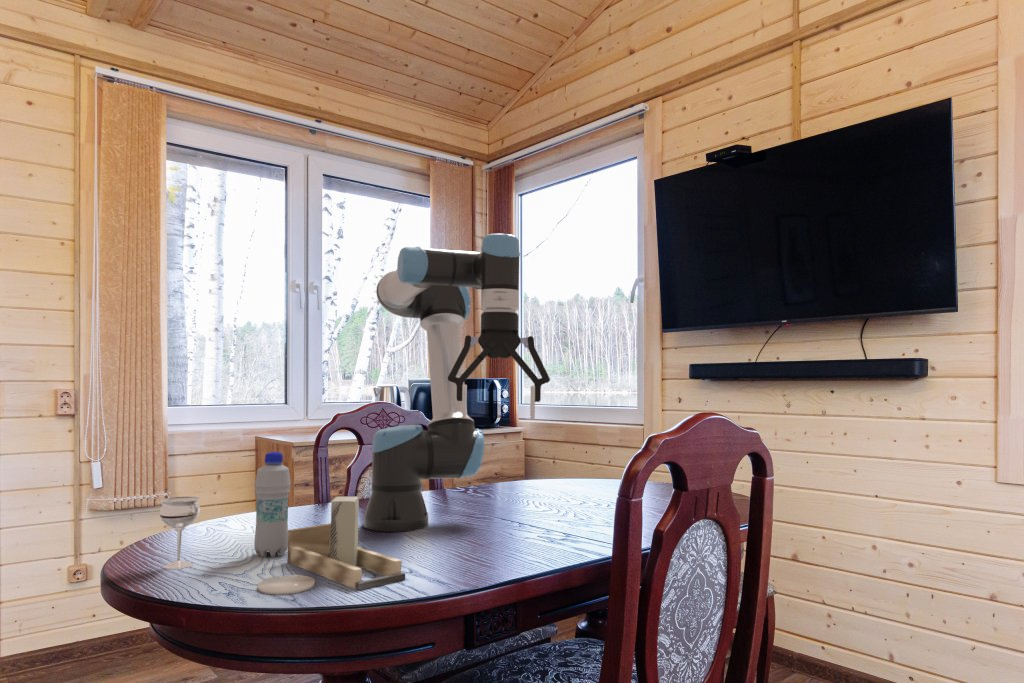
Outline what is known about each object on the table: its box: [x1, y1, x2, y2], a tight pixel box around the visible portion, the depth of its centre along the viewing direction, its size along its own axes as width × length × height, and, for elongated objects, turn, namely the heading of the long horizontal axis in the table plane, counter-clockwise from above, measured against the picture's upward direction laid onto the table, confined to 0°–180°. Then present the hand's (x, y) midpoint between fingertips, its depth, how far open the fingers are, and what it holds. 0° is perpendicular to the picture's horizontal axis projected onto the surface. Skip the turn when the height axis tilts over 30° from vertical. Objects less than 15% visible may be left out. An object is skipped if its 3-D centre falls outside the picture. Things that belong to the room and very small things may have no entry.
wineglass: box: [159, 496, 201, 570], centre depth 129 cm, size 7×7×12 cm
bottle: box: [253, 451, 292, 558], centre depth 138 cm, size 7×7×20 cm
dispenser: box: [287, 522, 406, 591], centre depth 126 cm, size 24×9×6 cm, turn 45°
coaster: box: [257, 574, 316, 596], centre depth 116 cm, size 9×9×1 cm
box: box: [329, 496, 360, 567], centre depth 126 cm, size 5×4×13 cm
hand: (498, 418), depth 139 cm, fingers open, 13 cm apart
